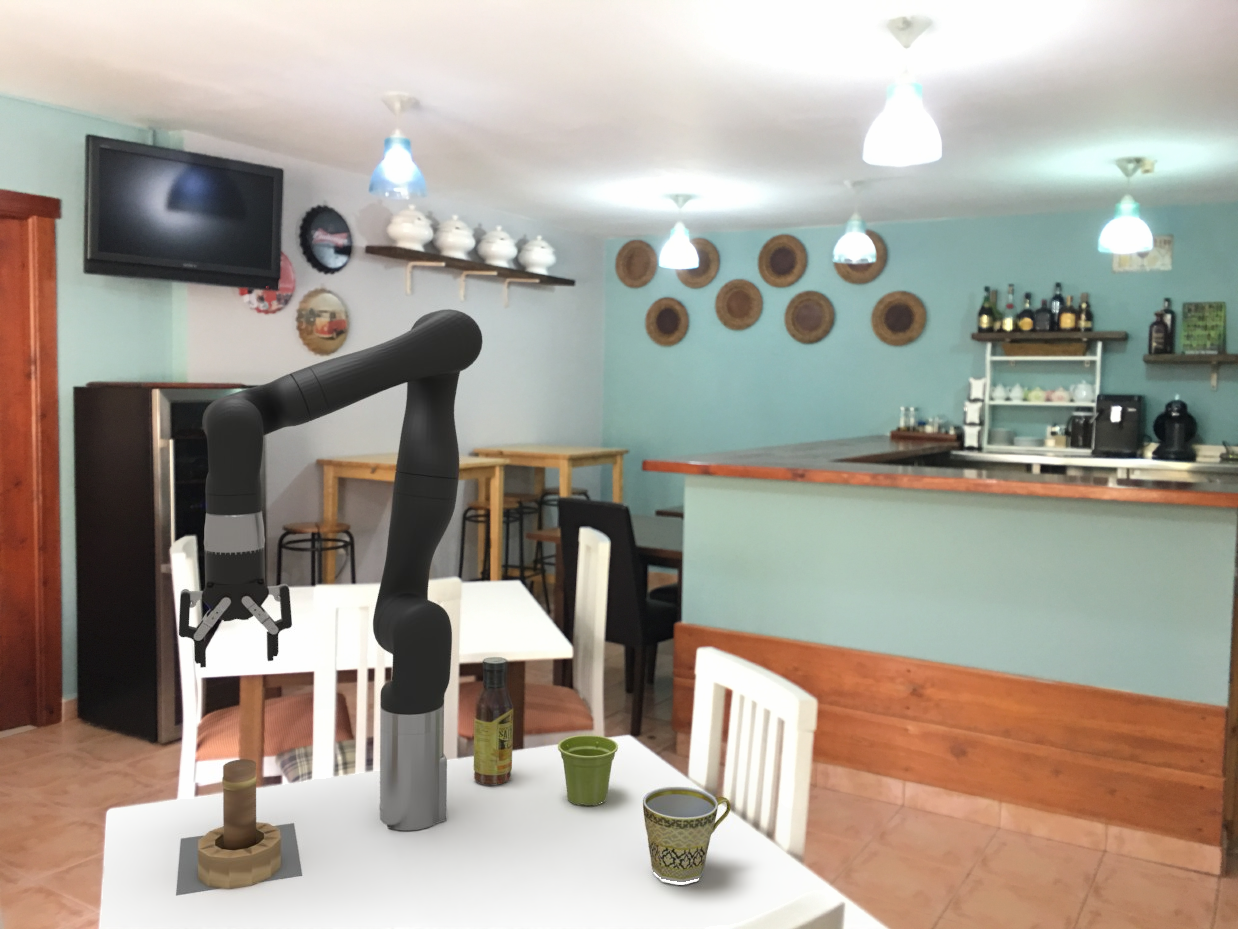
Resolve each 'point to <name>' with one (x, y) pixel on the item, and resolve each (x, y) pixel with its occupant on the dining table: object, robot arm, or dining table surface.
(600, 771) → the plant pot
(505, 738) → the sauce bottle
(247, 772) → the banded wooden cylinder
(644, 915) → the dining table surface
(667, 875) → the ceramic cup
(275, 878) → the mat
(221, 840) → the tan faceted ring
